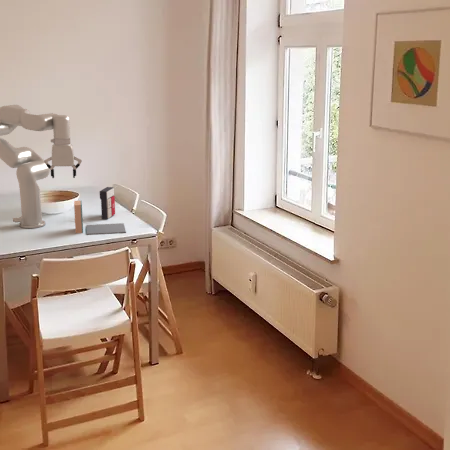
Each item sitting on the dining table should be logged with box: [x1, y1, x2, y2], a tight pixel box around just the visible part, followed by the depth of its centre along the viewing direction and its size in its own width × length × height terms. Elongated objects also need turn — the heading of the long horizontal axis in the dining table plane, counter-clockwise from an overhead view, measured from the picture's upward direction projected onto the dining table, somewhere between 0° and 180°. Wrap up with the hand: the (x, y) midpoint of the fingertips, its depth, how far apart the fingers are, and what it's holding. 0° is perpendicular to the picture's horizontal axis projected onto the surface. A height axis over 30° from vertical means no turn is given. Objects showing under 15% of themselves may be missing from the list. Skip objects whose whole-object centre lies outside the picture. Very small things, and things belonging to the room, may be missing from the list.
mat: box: [86, 222, 127, 236], centre depth 319 cm, size 18×16×1 cm
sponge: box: [73, 200, 84, 234], centre depth 315 cm, size 4×9×14 cm, turn 12°
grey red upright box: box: [99, 186, 116, 220], centre depth 340 cm, size 11×4×15 cm, turn 168°
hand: (63, 177), depth 309 cm, fingers open, 9 cm apart
